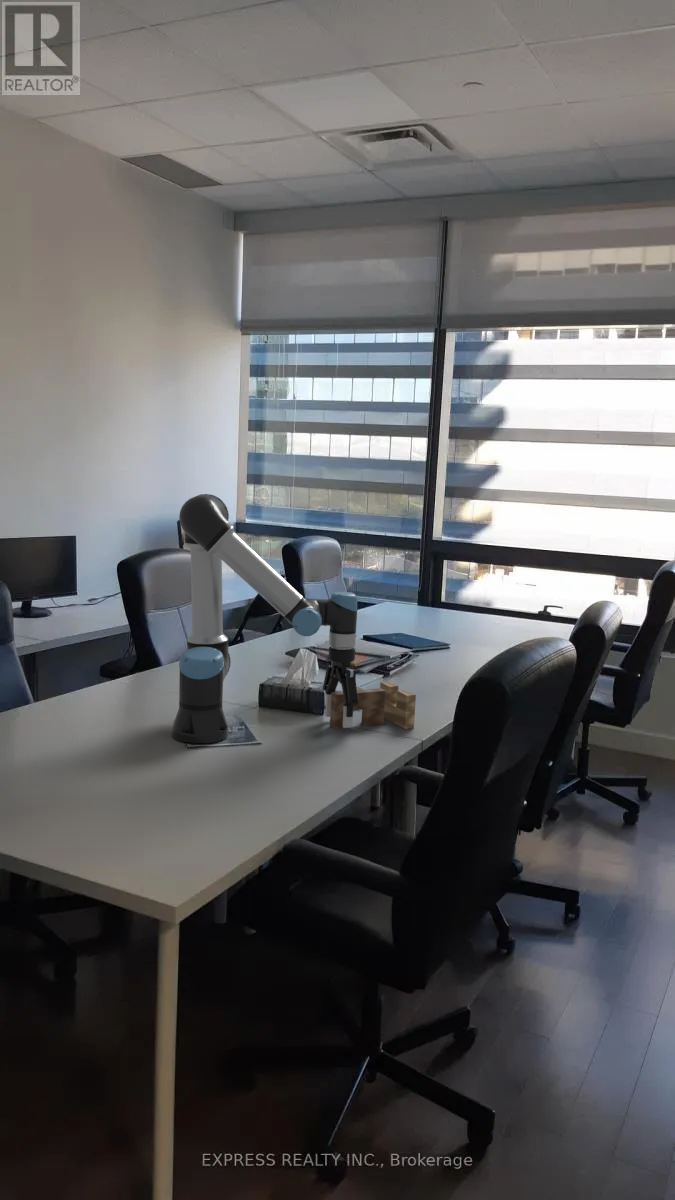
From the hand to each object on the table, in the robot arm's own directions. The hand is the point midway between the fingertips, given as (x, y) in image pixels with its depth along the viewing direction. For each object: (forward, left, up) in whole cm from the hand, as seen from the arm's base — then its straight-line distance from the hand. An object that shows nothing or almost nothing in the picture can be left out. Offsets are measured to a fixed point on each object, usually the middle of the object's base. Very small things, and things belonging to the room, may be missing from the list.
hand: (338, 721), depth 260 cm
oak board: (+19, 0, -2) cm, 19 cm away
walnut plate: (+6, 0, -2) cm, 6 cm away
